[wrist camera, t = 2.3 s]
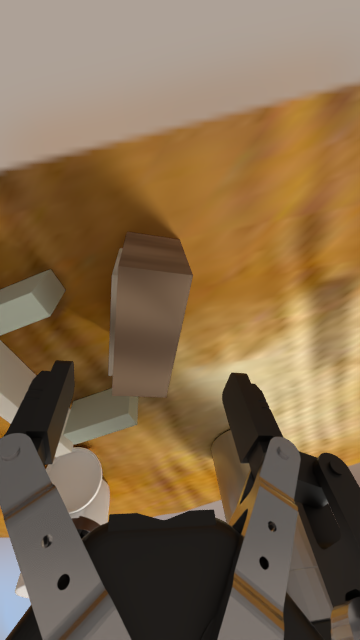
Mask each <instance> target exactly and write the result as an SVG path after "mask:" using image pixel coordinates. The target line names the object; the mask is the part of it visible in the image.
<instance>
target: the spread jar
mask: <svg viewBox="0 0 360 640" xmlns="http://www.w3.org/2000/svg"><path fill="white" fill-rule="evenodd" d="M45 470H46V472H47V474H48V476H49V478H50V480H51V482H52V484H54V485H55V486H56V488H57V490H58V492H59V494H60V496H61V498H62V500H63V502H64V504H65V506H66V508H67V510H68V512H69V515H70V517H71V519H72V521H73V523H74V525H75V527H76V529H77V531H78V533H79V535H80V538H81V539H82V538H83V537H84V536H85V535H87V534H88V533H89V532H90V531H92V530H93V529H95V528H96V527H98V526H100V525H102V524H105V523H107V520H108V511H109V501H110V491H109V486H108V483H107V481H106V479H105V478H104V476H103V475H102V467H101V464H100V462H99V460H98V458H97V456H96V455H95V454H94V453H93V452H92V451H90V450H88V449H86V448H82V447H74V448H73V449H72V452H70V453H67V454H64V455H61V456H58V457H55V458H54V460H53V464H48V466H47V468H46V469H45ZM15 593H16V594H17V595H18V596H21V597H25V598H29V596H28V592H27V589H26V586H25V583H24V580H23V577H22V574H21V573H20V576H19V579H18V583H17V586H16V590H15Z"/></svg>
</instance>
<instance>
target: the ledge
mask: <svg viewBox="0 0 360 640" xmlns="http://www.w3.org/2000/svg"><path fill="white" fill-rule="evenodd" d="M65 291H66V290H65V288H64V287H63V286H62V284H61V283H60V281H59V280H58V278H57V277H56V276H55V274H54V273H53V271H52V270H51V269H49V270H47V271H44V272H42V273H40V274H37V275H35V276H32V277H30V278H27V279H25V280H22V281H20V282H17V283H15V284H13V285H10V286H8V287H5V288H3V289H0V335H3V334H5V333H8V332H11V331H13V330H16V329H18V328H21V327H24V326H26V325H29V324H31V323H34V322H37V321H39V320H42V319H44V318H47V317H50V316H51V314H52V312H53V311H54V309H55V307H56V306H57V304H58V302H59V301H60V299H61V297H62V296H63V294H64V292H65ZM35 377H36V375H35V374H34V373H33V372H32V371H31V370H30V369H29V368H28V367H27V366H26V365H25V364H24V363H23V362H22V361H21V360H20V359H19V358H18V357H17V356H16V355H15V354H14V353H13V352H12V351H11V350H10V349H9V348H8V347H7V346H6V345H5V344H4V343H3V342H2V341H1V340H0V416H1V417H2V418H4V419H5V420H6V421H8V422H9V423H10V424H11V423H12V421H13V419H14V417H15V415H16V413H17V411H18V409H19V407H20V404H21V402H22V400H24V396H25V394H26V392H27V391H28V388H29V386H30V384H31V382H32V380H33V379H34V378H35ZM137 419H138V397H135V396H112V388H111V389H108V390H105V391H102V392H99V393H96V394H93V395H91V396H88V397H85V398H82V399H79V400H76V401H73V404H72V407H71V409H70V408H69V410H68V413H67V417H66V420H65V423H64V427H63V430H62V433H61V437H60V440H59V444H58V447H57V450H56V454H55V457H58V456H61V455H64V454H67V453H70V452H72V449H73V445H74V444H78V443H82V442H85V441H88V440H91V439H94V438H97V437H100V436H103V435H106V434H110V433H113V432H116V431H119V430H122V429H125V428H128V427H131V426H134V425H137Z"/></svg>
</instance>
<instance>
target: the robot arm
mask: <svg viewBox="0 0 360 640" xmlns="http://www.w3.org/2000/svg"><path fill="white" fill-rule="evenodd" d="M74 384H75V382H74V363H73V361H59V360H56V361H55V363H54V365H53V368H52V370H51V371H41V372H40V373H39V374H38V375H37V376H36V377H35V378H34V379H33V380H32V382H31V384H30V386H29V388H28V391H27V392H26V394H25V396H24V400H22V402H21V404H20V407H19V409H18V411H17V413H16V415H15V417H14V419H13V421H12V423H11V425H10V427H9V429H8V431H7V433H6V434H5V435H4V437H2V438H1V439H0V506H1V509H2V512H3V516H4V521H5V524H6V528H7V531H8V534H9V537H10V540H11V543H12V546H13V549H14V552H15V555H16V559H17V562H18V564H19V568H20V571H21V574H22V577H23V580H24V583H25V586H26V589H27V592H28V596H29V599H30V602H31V606H30V607H29V609H28V610H27V611H26V612H25V614H24V615H23V617H22V618H21V619H20V621H19V622H18V623H17V625H16V626H15V627H14V629H13V630H12V632H11V633H10V634H9V635H8V637H7V638H6V639H5V640H360V487H359V486H358V484H357V482H356V480H355V479H354V477H353V475H352V473H351V472H350V470H349V468H348V467H347V465H346V464H345V463H344V462H343V461H342V460H341V459H340V458H338V457H337V456H335V455H333V454H330V453H322V454H321V455H320V456H319V457H318V458H316V457H314V456H311V455H308V454H305V453H302V452H299V451H298V450H297V448H296V447H295V445H294V444H293V443H291V442H290V441H289V440H287V439H285V438H283V436H282V434H281V431H280V429H279V427H278V425H277V423H276V421H275V419H274V416H273V414H272V412H271V410H270V409H269V406H268V403H267V402H266V399H265V397H264V395H263V393H262V391H261V390H260V389H259V388H258V387H257V386H256V384H251V382H250V380H249V377H248V375H247V374H245V373H231V374H230V376H229V379H228V381H227V383H226V386H225V388H224V390H223V394H222V401H223V405H224V408H225V412H226V415H227V419H228V422H229V426H230V429H231V430H229V431H227V432H225V433H223V434H222V435H220V436H219V437H218V438H217V439H216V440H215V441H214V442H213V444H212V447H211V452H212V456H213V461H214V466H215V471H216V475H217V481H218V485H219V490H220V495H221V500H222V504H223V509H224V513H225V518H226V522H224V521H222V520H220V519H218V518H215V514H214V510H196V511H188V512H185V513H183V514H180V515H178V516H175V517H173V518H170V519H168V520H159V519H156V518H152V517H149V516H145V515H141V514H138V513H131V514H110V515H109V522H107V523H105V524H102V525H100V526H98V527H96V528H95V529H93V530H92V531H90V532H89V533H88V534H87V535H85V536H84V537H83V538H82V539H81V538H80V535H79V533H78V531H77V529H76V527H75V525H74V523H73V521H72V519H71V517H70V515H69V512H68V510H67V508H66V506H65V504H64V502H63V500H62V498H61V496H60V494H59V492H58V490H57V488H56V486H55V485H54V484H52V482H51V480H50V478H49V476H48V474H47V472H46V470H45V467H44V465H45V464H53V460H54V457H55V454H56V450H57V447H58V444H59V440H60V437H61V433H62V430H63V427H64V423H65V420H66V417H67V413H68V410H69V407H70V403H71V400H72V397H73V392H74ZM328 503H329V504H328ZM332 512H333V513H332ZM333 514H334V515H333ZM337 523H338V524H337ZM338 525H339V526H338Z"/></svg>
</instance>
